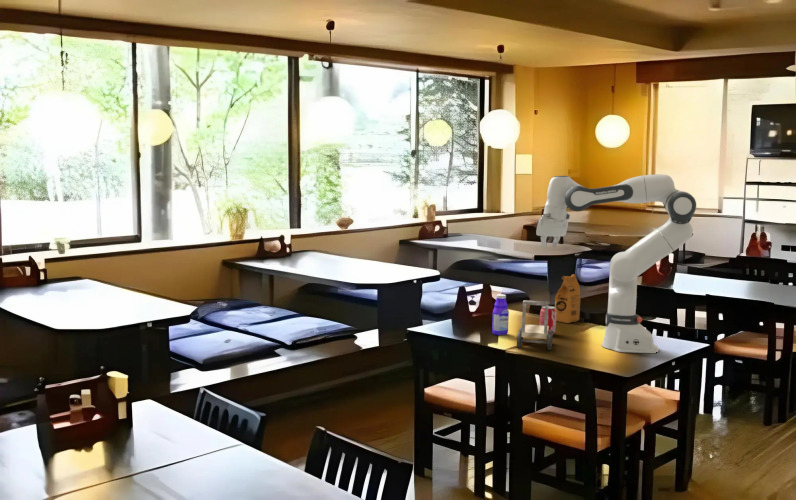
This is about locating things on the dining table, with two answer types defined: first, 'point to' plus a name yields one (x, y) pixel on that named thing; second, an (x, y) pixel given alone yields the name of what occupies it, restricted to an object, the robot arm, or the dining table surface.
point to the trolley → (535, 327)
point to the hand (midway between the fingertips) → (548, 246)
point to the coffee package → (568, 300)
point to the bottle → (500, 316)
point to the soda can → (549, 318)
